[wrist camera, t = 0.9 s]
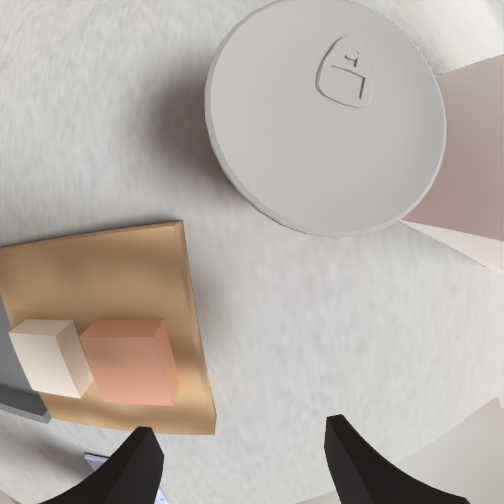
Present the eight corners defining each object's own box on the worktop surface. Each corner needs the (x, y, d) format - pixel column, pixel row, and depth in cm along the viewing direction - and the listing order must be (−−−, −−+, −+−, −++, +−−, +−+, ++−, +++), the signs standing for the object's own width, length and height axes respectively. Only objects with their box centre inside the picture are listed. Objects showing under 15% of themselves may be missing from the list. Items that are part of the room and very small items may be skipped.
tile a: (180, 382, 18) (173, 405, 16) (115, 381, 18) (103, 401, 16) (164, 317, 17) (153, 337, 15) (96, 320, 17) (79, 336, 15)
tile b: (93, 379, 18) (80, 398, 16) (47, 373, 18) (32, 390, 16) (72, 320, 17) (55, 335, 15) (26, 319, 17) (8, 332, 15)
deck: (216, 414, 22) (214, 434, 20) (62, 403, 22) (51, 417, 20) (182, 220, 19) (173, 225, 16) (9, 245, 19) (-9, 252, 16)
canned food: (341, 92, 17) (428, 17, 6) (346, 209, 19) (451, 239, 8) (224, 90, 17) (203, -10, 6) (228, 211, 19) (206, 246, 8)
